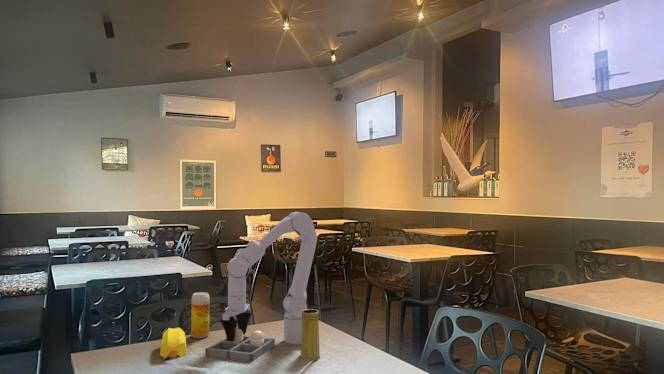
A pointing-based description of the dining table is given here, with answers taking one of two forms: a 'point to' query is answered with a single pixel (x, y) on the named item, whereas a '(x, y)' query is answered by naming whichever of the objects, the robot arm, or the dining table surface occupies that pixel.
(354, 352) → the dining table surface
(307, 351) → the vase
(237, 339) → the brown egg
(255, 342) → the cream egg
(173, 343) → the yellow banana
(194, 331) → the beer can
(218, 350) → the gray compartment tray
